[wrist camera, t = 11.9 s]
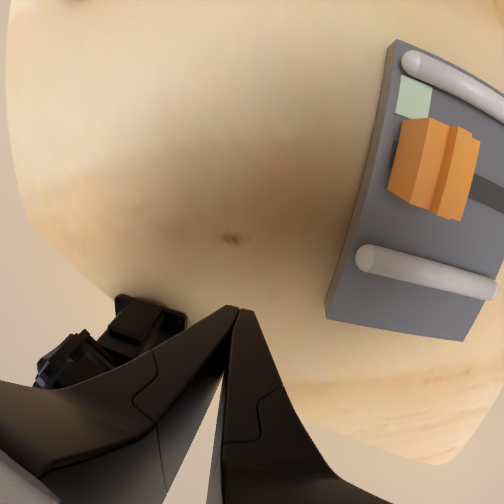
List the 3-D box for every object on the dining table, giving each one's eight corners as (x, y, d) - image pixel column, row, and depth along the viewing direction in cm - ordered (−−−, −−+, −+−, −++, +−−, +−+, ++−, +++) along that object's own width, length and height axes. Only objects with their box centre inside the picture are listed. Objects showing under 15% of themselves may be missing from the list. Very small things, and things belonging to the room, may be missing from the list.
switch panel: (453, 327, 20) (470, 354, 16) (324, 302, 20) (327, 333, 17) (521, 118, 13) (550, 120, 9) (387, 48, 13) (405, 30, 10)
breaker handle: (431, 204, 14) (468, 226, 10) (386, 189, 15) (416, 207, 11) (447, 138, 13) (489, 142, 9) (402, 120, 13) (437, 116, 9)
